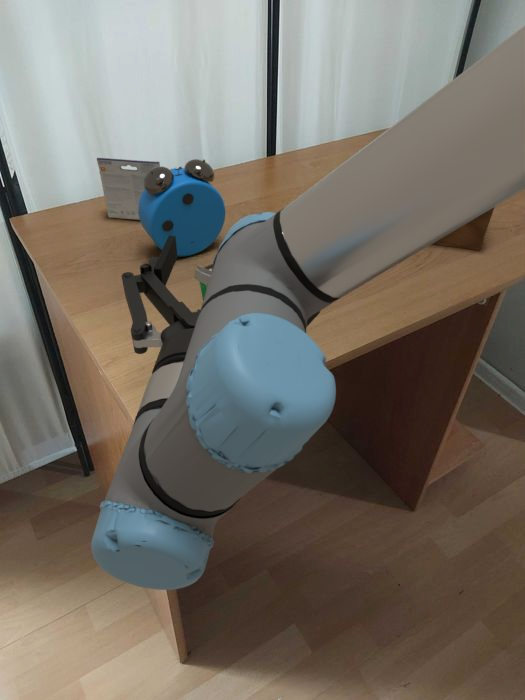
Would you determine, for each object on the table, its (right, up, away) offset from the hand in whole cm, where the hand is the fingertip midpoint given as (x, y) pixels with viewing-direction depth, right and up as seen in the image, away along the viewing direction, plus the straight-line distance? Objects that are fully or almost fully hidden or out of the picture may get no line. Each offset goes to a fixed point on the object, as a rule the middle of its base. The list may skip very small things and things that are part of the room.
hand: (233, 250), depth 60 cm
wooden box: (+35, +12, +39) cm, 54 cm away
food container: (+1, -6, +19) cm, 20 cm away
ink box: (-20, +13, +40) cm, 46 cm away
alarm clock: (-10, +6, +32) cm, 34 cm away
